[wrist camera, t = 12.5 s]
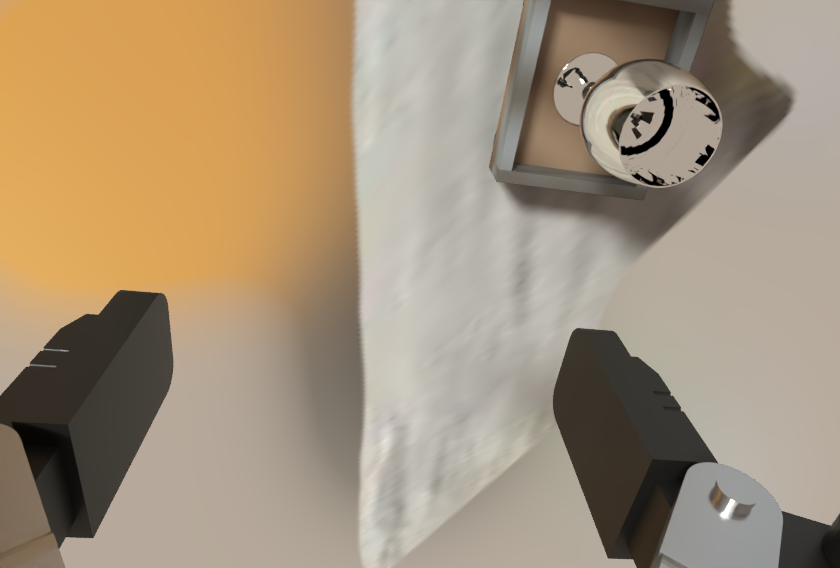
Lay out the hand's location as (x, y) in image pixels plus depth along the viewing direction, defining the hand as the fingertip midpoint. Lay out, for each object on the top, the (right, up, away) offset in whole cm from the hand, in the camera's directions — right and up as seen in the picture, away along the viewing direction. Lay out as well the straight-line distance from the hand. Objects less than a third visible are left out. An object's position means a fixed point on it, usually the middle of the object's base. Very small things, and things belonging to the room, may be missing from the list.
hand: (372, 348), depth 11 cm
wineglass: (+12, +14, +25) cm, 30 cm away
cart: (+11, +15, +27) cm, 33 cm away
